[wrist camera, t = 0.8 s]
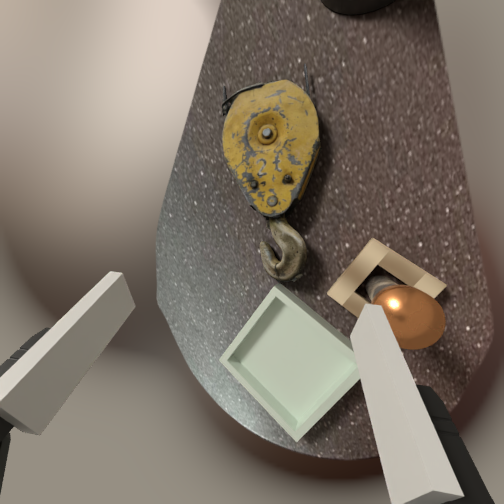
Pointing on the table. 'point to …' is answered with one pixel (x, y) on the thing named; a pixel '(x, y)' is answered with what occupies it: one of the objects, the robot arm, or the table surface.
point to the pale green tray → (292, 361)
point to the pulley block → (273, 161)
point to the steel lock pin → (407, 312)
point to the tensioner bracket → (387, 260)
